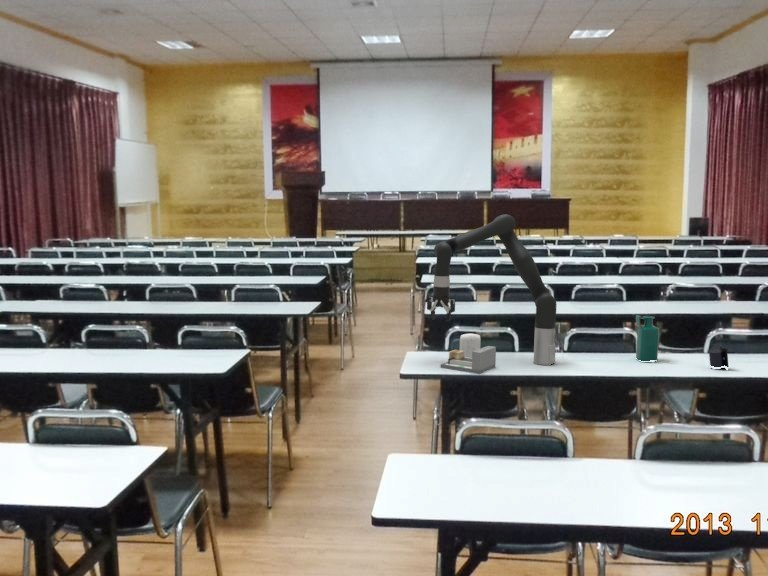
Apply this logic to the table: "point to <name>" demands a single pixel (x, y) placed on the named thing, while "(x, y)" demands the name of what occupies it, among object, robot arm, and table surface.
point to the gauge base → (475, 361)
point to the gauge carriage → (456, 355)
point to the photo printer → (469, 344)
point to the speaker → (718, 357)
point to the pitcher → (647, 339)
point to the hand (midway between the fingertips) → (440, 320)
